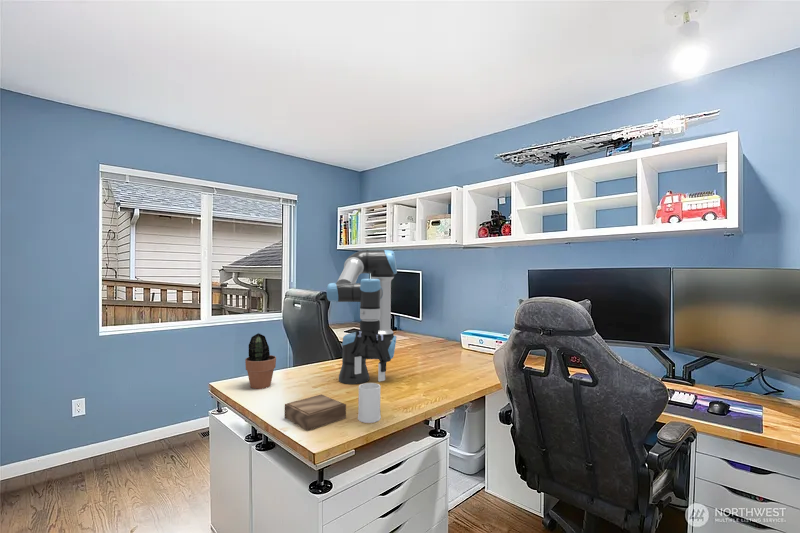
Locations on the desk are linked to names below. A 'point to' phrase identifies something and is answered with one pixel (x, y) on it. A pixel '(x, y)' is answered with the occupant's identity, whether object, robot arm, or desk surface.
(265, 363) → the potted plant
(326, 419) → the tray
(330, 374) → the desk surface
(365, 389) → the mug
